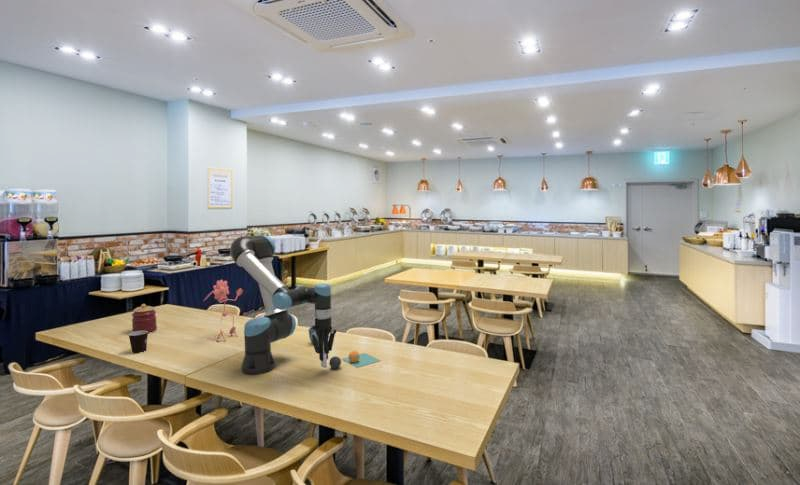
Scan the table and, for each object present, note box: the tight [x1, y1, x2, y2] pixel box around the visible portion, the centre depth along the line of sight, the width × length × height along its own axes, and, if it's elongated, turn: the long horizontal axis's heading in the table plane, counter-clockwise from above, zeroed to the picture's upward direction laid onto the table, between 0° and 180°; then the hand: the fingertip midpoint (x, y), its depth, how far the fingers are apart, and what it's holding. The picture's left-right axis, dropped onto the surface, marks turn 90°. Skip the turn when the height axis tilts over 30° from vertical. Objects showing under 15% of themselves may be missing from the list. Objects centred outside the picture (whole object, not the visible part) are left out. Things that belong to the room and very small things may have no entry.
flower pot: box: [308, 324, 324, 345], centre depth 228 cm, size 9×9×9 cm
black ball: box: [329, 355, 342, 369], centre depth 191 cm, size 6×6×6 cm
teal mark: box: [341, 352, 381, 369], centre depth 201 cm, size 14×14×1 cm
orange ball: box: [347, 350, 360, 363], centre depth 198 cm, size 6×6×6 cm
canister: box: [131, 303, 158, 334], centre depth 249 cm, size 13×13×18 cm
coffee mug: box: [128, 331, 149, 354], centre depth 215 cm, size 12×9×10 cm
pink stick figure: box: [203, 279, 244, 342], centre depth 236 cm, size 15×26×35 cm, turn 159°
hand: (323, 366), depth 188 cm, fingers closed
